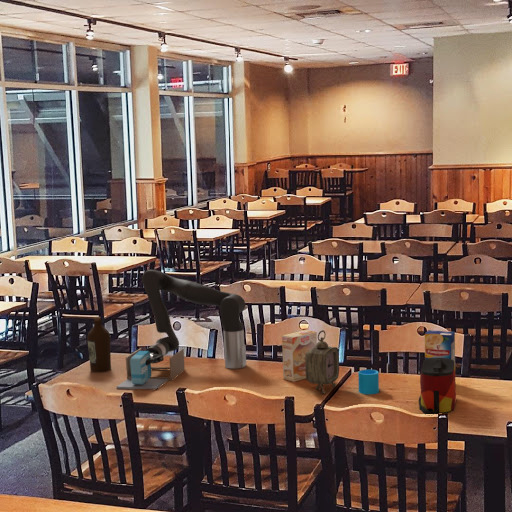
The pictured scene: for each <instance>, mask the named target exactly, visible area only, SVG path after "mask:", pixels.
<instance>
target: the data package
mask: <svg viewBox="0 0 512 512" xmlns="http://www.w3.org/2000/svg"><path fill="white" fill-rule="evenodd" d="M149 358H150V352H149V351H145V350H142V351H139V352H137V353H136V354H135V355H134V356H133V357H132V358H131V359H130V365H131V376H132V384H138V385H143V384H144V383H145V382H146V381H147V380H148V379H149V378H150V377H152V374H153V373H152V372H153V371H152V370H151V367H152V364H149V365H146V360H147V359H149Z"/></svg>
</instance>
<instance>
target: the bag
mask: <svg viewBox="0 0 512 512" xmlns="http://www.w3.org/2000/svg"><path fill="white" fill-rule="evenodd" d="M419 378H420V379H419V382H420V383H419V384H420V385H419V386H420V396H419V397H418V408H419V410H420V411H421V413H423V414H424V415H426V414H433V415H439V414H438V413H445V414H449V413H452V412H454V411H455V410H456V400H457V393H456V392H457V391H456V387H457V383H456V362H455V363H454V360H452V359H448V358H428V359H425V358H424V360H423V362H422V366H421V369H420V377H419Z"/></svg>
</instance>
